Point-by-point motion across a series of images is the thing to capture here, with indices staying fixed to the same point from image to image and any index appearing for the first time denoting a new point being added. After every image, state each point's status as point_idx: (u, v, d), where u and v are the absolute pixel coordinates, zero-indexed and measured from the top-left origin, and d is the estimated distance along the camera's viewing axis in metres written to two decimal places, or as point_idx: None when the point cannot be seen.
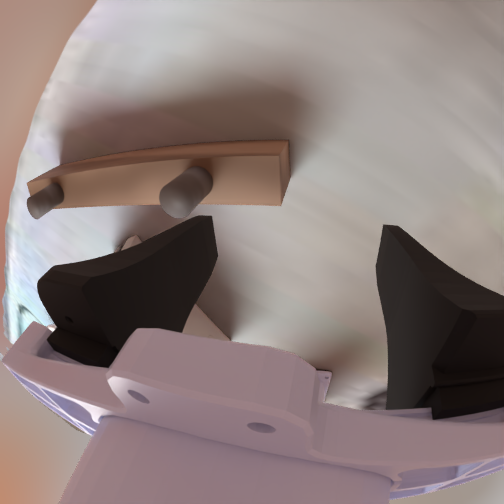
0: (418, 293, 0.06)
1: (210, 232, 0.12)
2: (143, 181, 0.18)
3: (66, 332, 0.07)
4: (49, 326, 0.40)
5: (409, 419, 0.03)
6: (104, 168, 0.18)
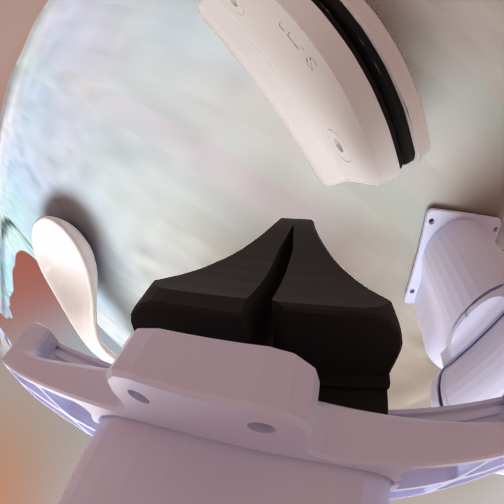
0: None
1: None
2: None
3: None
4: (38, 220, 0.26)
5: (409, 419, 0.03)
6: None
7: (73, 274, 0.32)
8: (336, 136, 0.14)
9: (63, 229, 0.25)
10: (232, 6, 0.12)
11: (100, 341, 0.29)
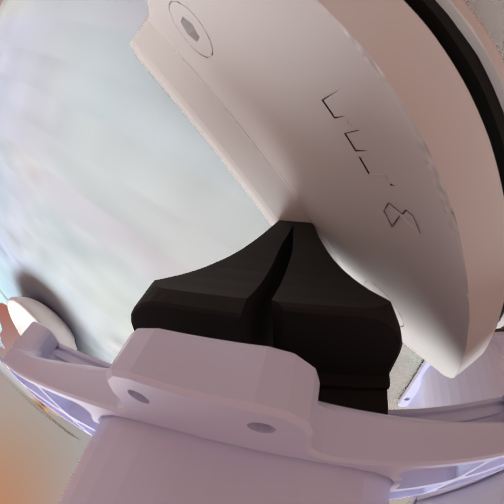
0: None
1: None
2: None
3: None
4: (11, 299, 0.22)
5: (409, 419, 0.03)
6: None
7: None
8: None
9: (36, 320, 0.21)
10: (188, 40, 0.06)
11: None
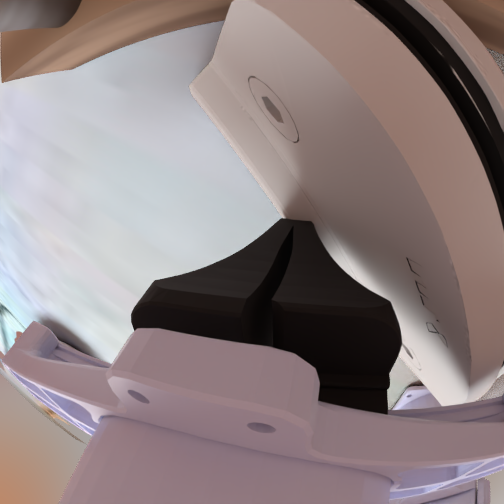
0: None
1: None
2: None
3: None
4: None
5: (409, 419, 0.03)
6: None
7: None
8: (411, 351, 0.09)
9: None
10: (265, 112, 0.07)
11: None
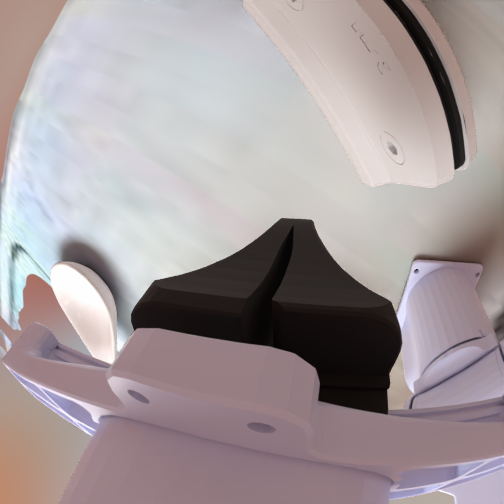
0: None
1: None
2: None
3: None
4: (58, 263, 0.29)
5: (409, 419, 0.03)
6: None
7: (91, 309, 0.35)
8: (392, 139, 0.13)
9: (86, 279, 0.28)
10: (287, 1, 0.11)
11: None
